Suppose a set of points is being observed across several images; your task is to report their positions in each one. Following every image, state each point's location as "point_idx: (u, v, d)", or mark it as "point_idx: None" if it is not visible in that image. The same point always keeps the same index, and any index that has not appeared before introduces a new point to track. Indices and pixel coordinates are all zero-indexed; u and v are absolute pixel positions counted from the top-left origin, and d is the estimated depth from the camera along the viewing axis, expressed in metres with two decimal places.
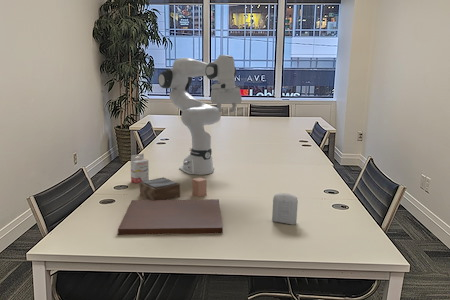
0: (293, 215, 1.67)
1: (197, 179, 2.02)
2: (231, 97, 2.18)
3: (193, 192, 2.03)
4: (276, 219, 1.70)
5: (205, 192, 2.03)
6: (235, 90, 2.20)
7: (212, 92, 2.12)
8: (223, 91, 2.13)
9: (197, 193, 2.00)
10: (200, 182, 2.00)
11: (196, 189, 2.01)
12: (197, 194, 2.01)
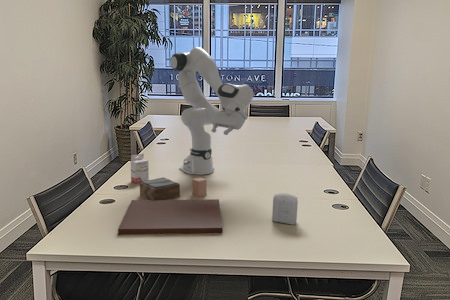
0: (293, 215, 1.67)
1: (197, 179, 2.02)
2: None
3: (193, 192, 2.03)
4: (276, 219, 1.70)
5: (205, 192, 2.03)
6: None
7: (241, 117, 2.01)
8: None
9: (197, 193, 2.00)
10: (200, 182, 2.00)
11: (196, 189, 2.01)
12: (197, 194, 2.01)
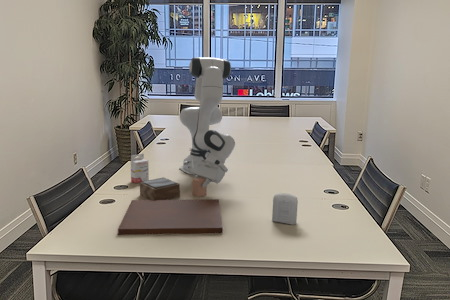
0: (293, 215, 1.67)
1: (197, 179, 2.02)
2: None
3: (193, 192, 2.03)
4: (276, 219, 1.70)
5: (205, 192, 2.03)
6: None
7: (221, 171, 1.98)
8: None
9: (197, 193, 2.00)
10: (200, 182, 1.99)
11: (196, 189, 2.01)
12: (197, 194, 2.01)
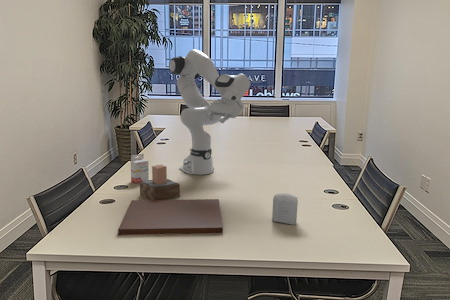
0: (293, 215, 1.67)
1: (157, 166, 1.98)
2: None
3: (153, 179, 1.99)
4: (276, 219, 1.70)
5: (165, 179, 1.99)
6: None
7: (237, 106, 2.02)
8: None
9: (157, 180, 1.96)
10: (160, 169, 1.96)
11: (155, 176, 1.97)
12: (156, 181, 1.97)
